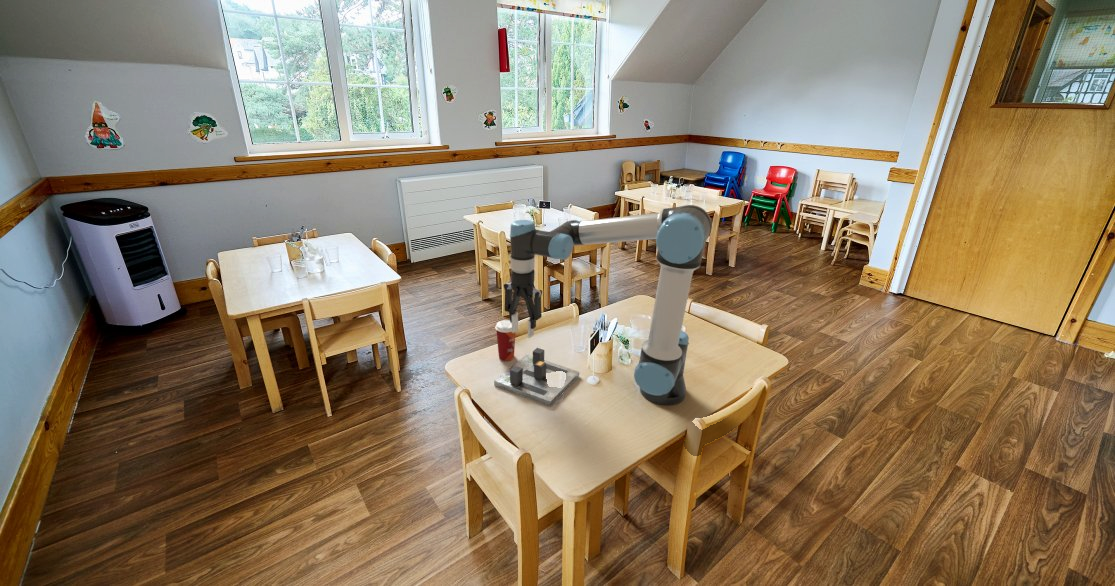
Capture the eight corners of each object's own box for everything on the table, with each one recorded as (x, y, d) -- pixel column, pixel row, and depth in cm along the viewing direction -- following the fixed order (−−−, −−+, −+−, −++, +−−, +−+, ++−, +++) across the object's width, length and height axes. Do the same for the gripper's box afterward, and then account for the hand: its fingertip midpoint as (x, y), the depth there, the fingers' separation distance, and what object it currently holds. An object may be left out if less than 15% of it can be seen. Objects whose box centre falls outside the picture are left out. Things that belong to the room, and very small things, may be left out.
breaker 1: (522, 381, 158) (522, 368, 156) (517, 385, 156) (517, 372, 154) (515, 378, 160) (515, 365, 158) (510, 382, 157) (509, 369, 155)
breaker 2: (544, 361, 169) (544, 349, 167) (539, 365, 167) (539, 353, 165) (537, 359, 171) (537, 347, 169) (532, 363, 168) (532, 351, 166)
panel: (579, 376, 166) (579, 371, 165) (550, 406, 150) (550, 401, 149) (526, 358, 175) (526, 354, 174) (494, 385, 159) (494, 380, 158)
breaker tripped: (546, 375, 162) (546, 362, 159) (541, 379, 159) (541, 366, 157) (538, 372, 163) (538, 360, 161) (534, 377, 160) (534, 364, 158)
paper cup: (515, 363, 172) (515, 329, 167) (494, 362, 172) (493, 328, 167) (517, 352, 180) (517, 319, 174) (497, 351, 180) (496, 318, 174)
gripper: (554, 271, 148) (552, 336, 157) (505, 260, 156) (506, 322, 165) (541, 279, 142) (540, 346, 151) (491, 267, 150) (493, 331, 159)
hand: (522, 333), depth 158 cm, fingers open, 6 cm apart
